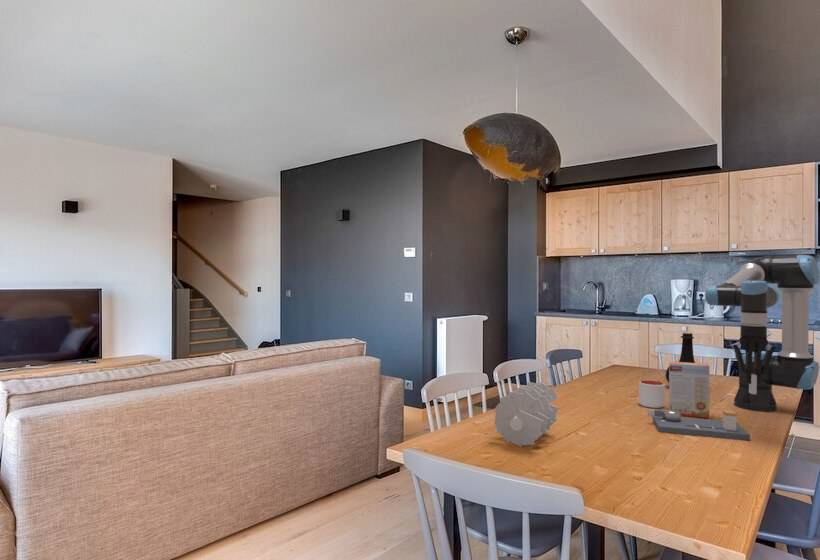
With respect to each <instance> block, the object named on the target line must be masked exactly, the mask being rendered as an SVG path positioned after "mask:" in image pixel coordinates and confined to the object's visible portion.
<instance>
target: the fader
mask: <svg viewBox="0 0 820 560" xmlns="http://www.w3.org/2000/svg"><path fill="white" fill-rule="evenodd" d="M737 415H738V414H737V412H735V411H734V410H732V409H731V410H727V409H722V421H723V427H724V428H725V429H726V430H731V431H736V423H737Z"/></svg>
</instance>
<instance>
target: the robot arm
mask: <svg viewBox="0 0 820 560" xmlns="http://www.w3.org/2000/svg"><path fill="white" fill-rule="evenodd" d="M737 271H738V272H736V273H735V274H733V275H732V276H731V277H730V278H728V279H727V280H725V281H724V282H723V283H722V284H720V285H716V284H715V285H708V286H707V287H706V289H705V292H704V299H705V301H706V304H708V305H710V306H716V307H719V306H721V307H723V306H724V307H740V324H742V325H740V337H739V339H738V341H737V342H736V343H732V344H731V348H732V349H733V351H734V353H735V358H736V361H737V365H738V376H739V377H738V389H737V392H736V394H735V397H734V399H733V405H734V406H736V407H738V408H741V409H744V410H745V409H746V410H749V411H757V412H775V411H777V410H778V404H777V402H776V399H775V396H774V393H773V386H776V387H783V388H789V389H790V388H791V389H796V390H804V391H805V390H808V391H809V390H812V389H813V388H814V387H815V386H816V384H817V383H816V382H817V379H818V376H819V371H820V366H819V362H818V361H816V360H814V356H813V355H812V354H811V353H810V352H809V318H810V317H809V313H810V312H809V310H810V309H809V301H810V300H809V293H810V292H812V290H814V285H818V284H819V282H820V272H819V271H820V270H819V266H818V262H817V260H816V259H815V258H814V256H812V255H810V254H793V255H792V254H791V255H790V254H788V255H785V254H784V255H765V256H760V257H758V258H755V259H752V260H749V261H748V262H746V263H744V264H742V265H741V266H740V267H739V269H738V270H737ZM768 284H775V285H776V284H777V290H779V291H780V292H781V351H779V352H778V353H776V354H777V355H776V357H774V355H773V353H774V352H776V349H777V348H776V346H774V345H772V344H770V343H769V340H768V338H767V337H768V328H767V324H768V308H770V307H773V306H775V305H776V304H777V303H778V302H779V299H780V295H779V292H778V291H777V290H776V289H775V288H773V287H771V286H768ZM741 347H742V348H743V349H744V351H745V353H743V354H742V350H741ZM764 349H765V350H766V351H765V352H762V351H763V350H764Z"/></svg>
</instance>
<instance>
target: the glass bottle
mask: <svg viewBox="0 0 820 560" xmlns="http://www.w3.org/2000/svg"><path fill="white" fill-rule="evenodd" d="M680 338H681V339H682V343H681V352H680V357H679V359H678V362H687V363H696V362H695V356H694V345H693V344H694V343H693V339H695V337H694V336H693V333H691V332H690V333H689V332H683V333H682V335H681V336H680ZM665 378H666V381H667V383H668V384H669V366H668V367H667V369H666V371H665Z"/></svg>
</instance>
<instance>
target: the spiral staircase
mask: <svg viewBox="0 0 820 560" xmlns="http://www.w3.org/2000/svg"><path fill="white" fill-rule="evenodd" d="M558 399H559V396H558V394H557V392H556V390H555V388H554V387H551V388H550V387H548V385H546V384H545V383H544V382H542V381H540V382H539V383H535V382H531V381H527V384H526V385H520V387H517V389H516V390H514V391H510V392H509V391H508V392H507V395H505V396H502V397H499V401H500V402H498V404H497V405H496V406H495V408H494V409H493V411H494V413H495V414H494V415H495V416H494V425H495V427H496V432H497V433H499V434H500V435H501V437H502V438H503V439H504V440H505V441H506V443H507V444H508V443H511V444H514V445H516V446H517V447H520V448H522V447H523V446H534V445H535V441H538V440H539V438H540V437H541V436H542V435H546V434H548V431H550V430H551V426H552V425H553V424H555V423H556V422H557V421H558V418H557V417H556V416H557V414H558V410H559V407H558V406H556V405H553V404H551V402H554V401H555V400H558Z"/></svg>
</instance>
